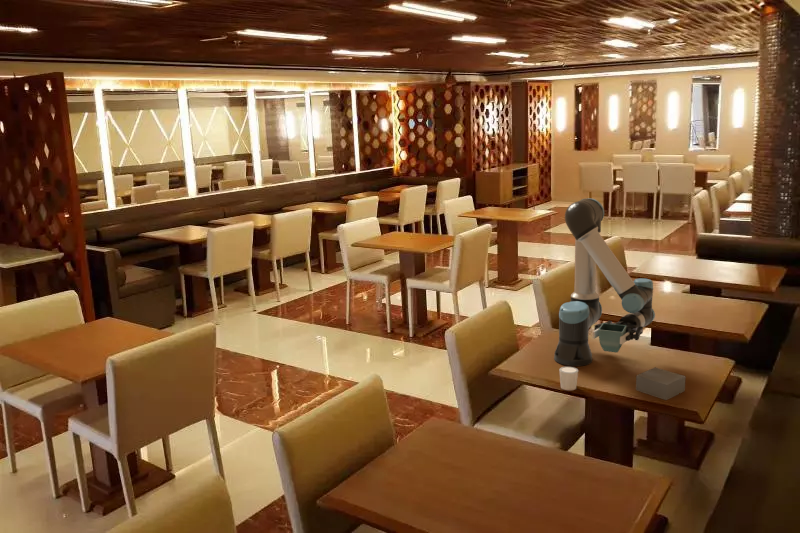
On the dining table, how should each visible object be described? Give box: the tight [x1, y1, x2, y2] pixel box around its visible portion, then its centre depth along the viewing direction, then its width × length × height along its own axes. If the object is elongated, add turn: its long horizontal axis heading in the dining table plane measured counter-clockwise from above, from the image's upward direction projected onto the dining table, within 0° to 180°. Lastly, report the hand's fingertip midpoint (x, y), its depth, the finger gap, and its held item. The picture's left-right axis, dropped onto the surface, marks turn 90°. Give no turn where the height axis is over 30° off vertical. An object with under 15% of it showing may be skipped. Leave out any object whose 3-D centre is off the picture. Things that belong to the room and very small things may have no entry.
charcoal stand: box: [635, 366, 687, 401], centre depth 242 cm, size 12×12×6 cm
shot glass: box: [558, 366, 579, 391], centre depth 247 cm, size 7×7×7 cm
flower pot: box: [598, 322, 626, 353], centre depth 250 cm, size 9×9×9 cm
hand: (607, 337), depth 247 cm, fingers closed on flower pot, 10 cm apart
